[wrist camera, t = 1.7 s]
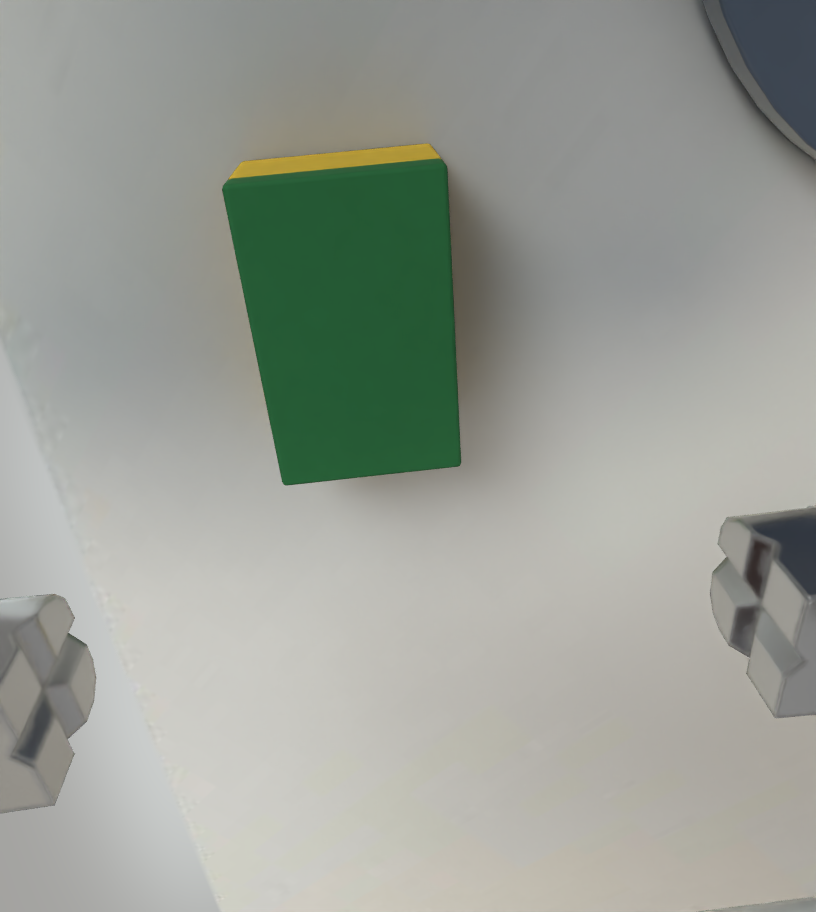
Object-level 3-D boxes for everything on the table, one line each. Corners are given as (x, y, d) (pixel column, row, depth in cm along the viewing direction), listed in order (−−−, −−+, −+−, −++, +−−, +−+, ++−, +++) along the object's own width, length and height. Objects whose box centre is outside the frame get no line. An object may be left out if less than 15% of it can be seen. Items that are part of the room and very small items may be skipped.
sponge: (239, 161, 16) (220, 185, 14) (431, 142, 16) (448, 163, 14) (290, 428, 20) (282, 487, 17) (446, 411, 20) (461, 467, 17)
